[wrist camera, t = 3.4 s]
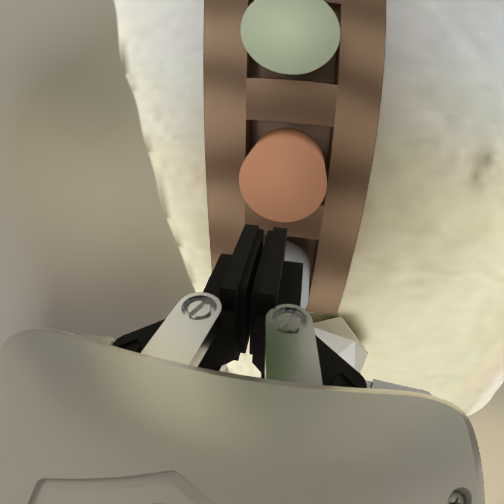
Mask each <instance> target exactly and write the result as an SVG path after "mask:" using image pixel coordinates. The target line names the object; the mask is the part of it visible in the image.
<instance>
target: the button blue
mask: <svg viewBox="0 0 504 504" xmlns="http://www.w3.org/2000/svg"><path fill="white" fill-rule="evenodd" d="M264 243H265V242H264ZM263 247H264V245H263ZM284 261H291V262H300V263H303V277H302V293H301V307H302V308H304V309H305V308H306V306H307V303H308V296H309V273H310V263H309V259H308V257H307V255H306V253H305V252H304V251H303V250H302V249H301V248H300V247H299V246H297V245H296V244H294V243H292V242H289V241H286V250H285V260H284Z"/></svg>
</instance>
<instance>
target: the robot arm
mask: <svg viewBox="0 0 504 504" xmlns="http://www.w3.org/2000/svg"><path fill="white" fill-rule="evenodd" d="M287 229H288V228H279V227H274V228H273V230H268V232H267V236H266V239H265V243H264V229H259V225H250V224H245V225H244V228H243V230H242V233H241V235H240V237H239V240H238V242H237V245H236V247H235V249H234V252H233V254H232V255H231V254H223V253H222V254H221V255H220V256H219V259H218V261H217V263H216V265H215V267H214V269H213V272H212V274H211V276H210V278H209V280H208V282H207V285H206V287H205V289H204V291H203V292H197V293H192V294H189V295H187V296H185V297H183V298H182V299H181V300H180V301H179V302H178V304H177V305H176V306H175V308H174V309H173V310H172V312H171V313H170V314H169V315H168V317H167V318H166V319H164V320H162V321H159V322H157V323H154V324H152V325H149V326H146V327H144V328H141V329H139V330H136V331H134V332H131V333H129V334H126V335H123V336H122V337H120V338H118V339H117V340H113V338H112V337H102V336H90V335H78V334H71V333H68V332H63V331H59V330H54V329H44V328H34V329H26V330H21V331H18V332H16V333H14V334H13V335H12V336H11V337H9V338H8V339H7V340H6V341H5V342H4V343H3V344H2V346H1V347H0V504H485V499H484V480H483V471H482V464H481V458H480V452H479V447H478V443H477V439H476V436H475V433H474V429H473V427H472V424H471V422H470V420H469V418H468V417H467V415H466V414H465V413H464V411H463V410H461V409H460V408H459V407H458V406H456V405H454V404H453V403H451V402H448V401H446V400H444V399H441V398H438V397H435V396H433V395H431V394H430V393H429V392H427V391H424V390H421V389H416V388H411V387H406V386H402V385H397V384H393V383H388V382H384V381H380V380H376V379H373V381H372V382H370V381H366V380H365V379H364V377H363V376H362V375H361V374H360V373H359V372H358V371H357V370H355V369H354V368H353V367H352V366H351V365H350V364H348V363H347V362H346V361H345V360H344V359H343V358H342V357H340V356H339V355H338V354H337V353H336V352H335V351H333V350H332V349H331V348H330V347H329V346H328V345H326V344H325V343H324V342H323V341H322V340H321V339H320V338H318V337H317V336H316V335H315V332H314V326H313V320H312V317H311V315H310V314H309V313H308V311H307V310H305V309H304V308H302V307H301V293H302V277H303V263H300V262H291V261H284V260H285V250H286V240H287ZM263 245H264V247H263ZM249 337H250V354H253V359H252V363H253V364H254V365H255V366H256V367H257V368H258V369H259V371H260V372H261V378H257V377H251V376H244V375H238V374H232V373H227V372H224V371H225V367H226V365H225V364H227V363H229V362H231V361H233V360H237V361H238V359H239V356H240V353H246V349H247V345H248V341H249Z"/></svg>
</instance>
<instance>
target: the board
mask: <svg viewBox="0 0 504 504" xmlns="http://www.w3.org/2000/svg"><path fill="white" fill-rule="evenodd" d="M253 1H254V0H204V53H203V67H204V130H205V159H206V182H207V202H208V220H209V235H210V250H211V264H212V272H213V269H214V267H215V265H216V263H217V261H218V259H219V256H220V255H221V254H222V253H223V254H231V255H232V254H233V252H234V249H235V247H236V245H237V242H238V240H239V237H240V235H241V233H242V230H243V228H244V225H245V224H250V225H259V229H264V242H265V239H266V236H267V232H268V230H273V228H274V227H279V228H288V229H287V240H286V241H289V242H292V243H294V244H296V245H297V246H299V247H300V248H301V249H302V250H303V251H304V252H305V253H306V255H307V257H308V259H309V263H310V273H309V296H308V303H307V306H306V308H305V310H307V311H311V312H320V313H329V314H337V312H338V308H339V305H340V302H341V298H342V295H343V291H344V287H345V284H346V280H347V276H348V273H349V269H350V265H351V261H352V257H353V253H354V249H355V245H356V240H357V236H358V232H359V227H360V223H361V218H362V214H363V209H364V204H365V199H366V194H367V189H368V183H369V178H370V172H371V166H372V160H373V154H374V148H375V141H376V134H377V127H378V119H379V111H380V102H381V93H382V82H383V70H384V56H385V36H386V0H323V1H325V2H326V3H327V4H328V5H329V6H330V7H331V9H332V10H333V12H334V13H335V15H336V17H337V19H338V22H339V26H340V41H339V45H338V47H337V50H336V52H335V53H334V55H333V56H332V57H331V59H330V60H329V61H328V62H326V63H325V64H324V65H323V66H321V67H319V68H318V69H316V70H314V71H312V72H309V73H305V74H282V73H278V72H274V71H272V70H269V69H267V68H265V67H263V66H262V65H260V64H259V63H257V62H256V61H255V60H254V59H253V58H252V57H251V56H250V55H249V53H248V52H247V50H246V49H245V47H244V45H243V42H242V38H241V30H240V28H241V21H242V18H243V15H244V13H245V11H246V10H247V8H248V7H249V6H250V4H251V3H252V2H253ZM279 128H293V129H297V130H300V131H303V132H305V133H306V134H308V135H309V136H311V137H312V138H313V139H314V140H315V141H316V142H317V144H318V145H319V147H320V149H321V151H322V153H323V157H324V163H325V170H326V176H327V190H326V194H325V197H324V199H323V201H322V203H321V204H320V206H319V207H318V208H317V209H316V210H315V211H314V212H313V213H312V214H311V215H309V216H307V217H305V218H303V219H301V220H298V221H293V222H277V221H272V220H269V219H266V218H264V217H262V216H260V215H259V214H257V213H256V212H255V211H254V210H252V209H251V208H250V206H249V205H248V204H247V203H246V201H245V200H244V198H243V196H242V193H241V191H240V186H239V173H240V169H241V166H242V164H243V162H244V160H245V158H246V157H247V156H248V154H249V153H250V151H251V150H252V148H253V147H254V146H255V144H256V143H257V142H258V140H259V139H260V138H261V137H262V136H263V135H265V134H266V133H268V132H270V131H272V130H275V129H279Z"/></svg>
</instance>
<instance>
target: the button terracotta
mask: <svg viewBox="0 0 504 504" xmlns="http://www.w3.org/2000/svg"><path fill="white" fill-rule="evenodd" d="M239 186H240V191H241V193H242V196H243V198H244V200H245V201H246V203H247V204H248V205H249V206H250V208H251V209H252V210H254V211H255V212H256V213H257V214H259V215H260V216H262V217H264V218H266V219H269V220H272V221H277V222H293V221H298V220H301V219H303V218H305V217H307V216H309V215H311V214H312V213H313V212H314V211H315V210H316V209H317V208H318V207H319V206H320V204H321V203H322V201H323V199H324V197H325V194H326V190H327V176H326V170H325V163H324V157H323V153H322V151H321V149H320V147H319V145H318V144H317V142H316V141H315V140H314V139H313V138H312V137H311V136H309V135H308V134H306V133H305V132H303V131H300V130H297V129H293V128H279V129H275V130H272V131H270V132H268V133H266V134H265V135H263V136H262V137H261V138H260V139H259V140H258V142H257V143H256V144H255V146H254V147H253V148H252V150H251V151H250V153H249V154H248V156H247V157H246V158H245V160H244V162H243V164H242V166H241V169H240V173H239Z"/></svg>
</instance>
